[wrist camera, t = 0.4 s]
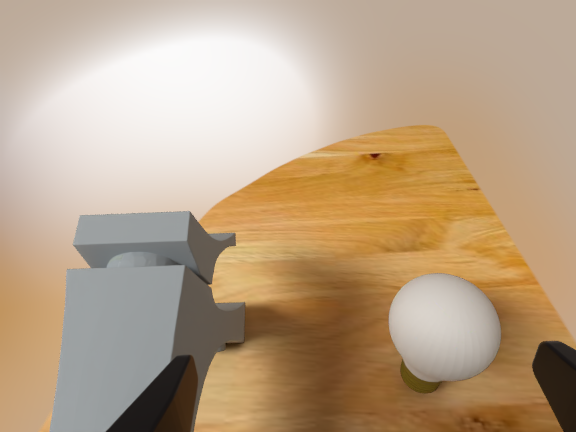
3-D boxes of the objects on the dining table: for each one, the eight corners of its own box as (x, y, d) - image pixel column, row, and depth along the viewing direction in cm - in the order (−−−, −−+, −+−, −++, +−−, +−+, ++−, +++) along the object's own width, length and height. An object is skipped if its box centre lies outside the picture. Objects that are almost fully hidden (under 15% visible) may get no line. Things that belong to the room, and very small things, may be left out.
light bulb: (404, 327, 28) (431, 237, 21) (477, 379, 24) (537, 292, 18) (358, 379, 25) (375, 293, 18) (434, 447, 21) (488, 372, 15)
